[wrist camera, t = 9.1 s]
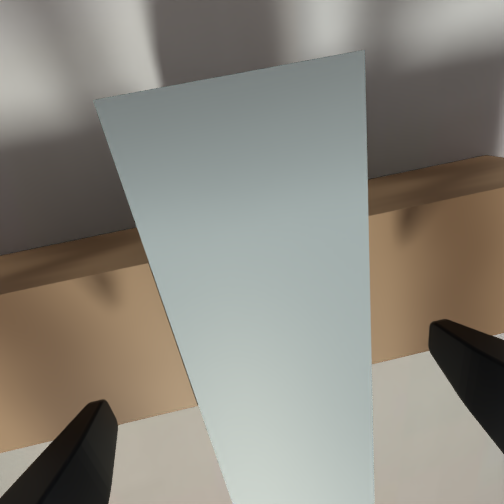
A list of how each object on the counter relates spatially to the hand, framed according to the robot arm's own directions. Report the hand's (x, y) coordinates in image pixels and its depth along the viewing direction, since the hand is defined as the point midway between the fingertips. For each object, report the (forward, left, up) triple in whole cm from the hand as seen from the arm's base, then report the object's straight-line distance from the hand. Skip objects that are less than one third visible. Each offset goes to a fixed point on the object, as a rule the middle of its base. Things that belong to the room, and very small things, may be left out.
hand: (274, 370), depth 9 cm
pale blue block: (0, 0, -5) cm, 5 cm away
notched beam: (0, 0, -6) cm, 6 cm away
